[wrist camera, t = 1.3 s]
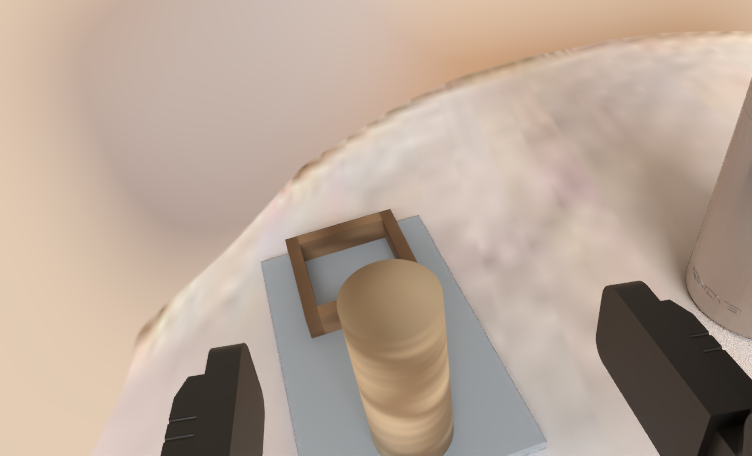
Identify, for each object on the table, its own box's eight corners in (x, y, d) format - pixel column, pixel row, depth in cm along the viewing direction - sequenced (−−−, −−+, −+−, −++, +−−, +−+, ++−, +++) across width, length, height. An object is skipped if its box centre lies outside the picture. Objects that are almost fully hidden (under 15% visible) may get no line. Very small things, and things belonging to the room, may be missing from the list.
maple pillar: (436, 381, 36) (421, 247, 28) (467, 451, 32) (460, 319, 25) (362, 406, 36) (326, 276, 28) (385, 480, 32) (351, 355, 24)
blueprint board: (419, 222, 49) (418, 215, 49) (545, 448, 33) (546, 441, 32) (263, 268, 47) (260, 261, 47) (315, 531, 31) (312, 526, 30)
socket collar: (392, 226, 48) (390, 209, 47) (429, 301, 41) (427, 282, 40) (290, 257, 47) (285, 239, 45) (311, 338, 40) (305, 320, 39)
